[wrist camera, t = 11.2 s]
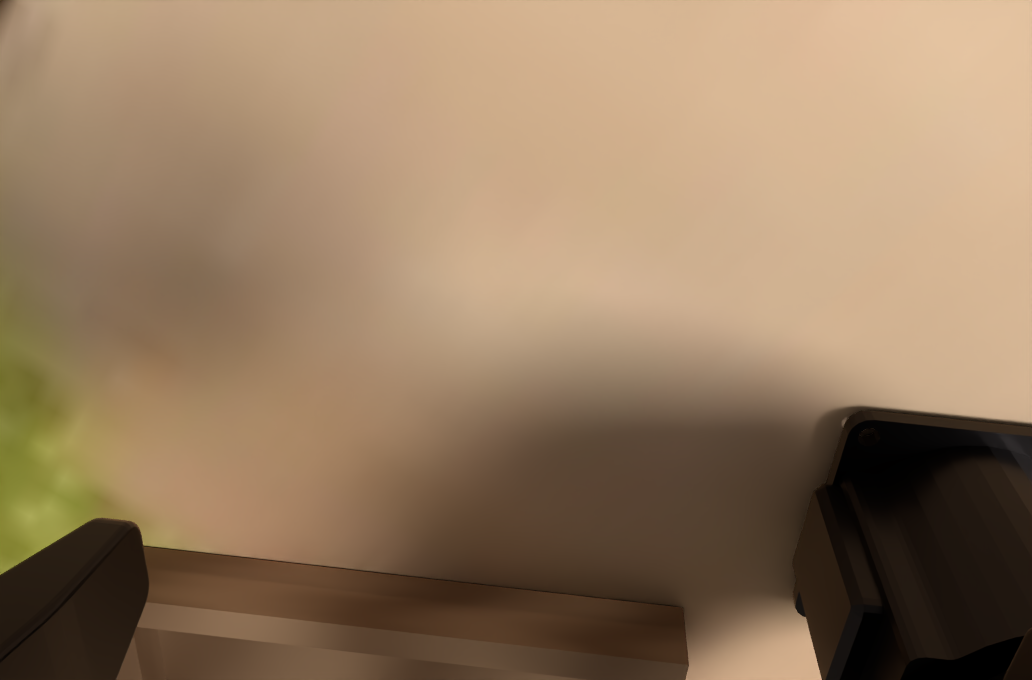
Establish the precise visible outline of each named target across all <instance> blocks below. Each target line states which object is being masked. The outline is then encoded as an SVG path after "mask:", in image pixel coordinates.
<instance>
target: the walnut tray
mask: <svg viewBox="0 0 1032 680" xmlns="http://www.w3.org/2000/svg"><path fill="white" fill-rule="evenodd" d="M143 547H144V546H143ZM144 553H145V559H146V564H147V570H148V576H149V592H148V597H147V601H146V604H145V607H144V609H143V612H142V615H141V617H140V620H139V622H138V625H137V627H136V630H135V633H134V635H133V638H132V640H131V643H130V646H129V648H128V651H127V653H126V656H125V658H124V661H123V664H122V666H121V669H120V671H119V674H118V676H117V679H116V680H685V679H686V675H687V670H688V666H689V662H688V652H687V642H686V633H685V623H684V613H683V608H681V607H672V606H663V605H655V604H646V603H637V602H628V601H619V600H611V599H602V598H593V597H584V596H575V595H567V594H558V593H549V592H540V591H531V590H523V589H514V588H505V587H496V586H487V585H479V584H470V583H461V582H452V581H443V580H435V579H426V578H417V577H408V576H399V575H391V574H382V573H373V572H364V571H355V570H347V569H338V568H329V567H320V566H311V565H303V564H294V563H285V562H276V561H267V560H259V559H250V558H241V557H232V556H223V555H215V554H206V553H197V552H188V551H179V550H171V549H162V548H153V547H144Z"/></svg>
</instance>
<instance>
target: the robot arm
mask: <svg viewBox="0 0 1032 680" xmlns="http://www.w3.org/2000/svg"><path fill="white" fill-rule="evenodd" d="M870 428H873V429H875V431H874V432H873V433H872V434H870V435H868V436H860V435H859V434H860V433H861V432H862V431H863V430H865V429H870ZM793 568H794V572H795V576H796V583H795V586H794V590H793V600H794V604H795V608H796V610H797V612H798V613H799V614H801V615H802V616H804V617H806V619H807V623H808V627H809V631H810V635H811V639H812V642H813V646H814V650H815V654H816V658H817V662H818V666H819V670H820V674H821V678H822V680H1032V427H1025V426H1015V425H1006V424H996V423H987V422H977V421H968V420H958V419H949V418H939V417H930V416H920V415H910V414H901V413H891V412H882V411H872V410H867V411H860V412H857V413H855V414H853V415H852V416H851V417H849V418H848V419H847V421H846V423H845V424H844V427H843V430H842V433H841V437H840V440H839V443H838V447H837V450H836V453H835V456H834V460H833V463H832V466H831V469H830V473H829V476H828V479H827V482H826V484H822V485H821V486H819V487H818V488H817V489H816V490H815V491H814V492H813V495H812V498H811V502H810V505H809V508H808V512H807V515H806V518H805V522H804V525H803V528H802V532H801V535H800V538H799V542H798V545H797V548H796V552H795V555H794V558H793ZM148 592H149V576H148V570H147V564H146V559H145V553H144V547H143V542H142V536H141V532H140V529H139V527H138V526H137V524H135V523H134V522H131V521H126V520H117V519H108V518H96V519H93V520H91V521H89V522H87V523H85V524H84V525H82V526H80V527H79V528H77V529H75V530H74V531H72V532H71V533H69V534H67V535H66V536H64V537H62V538H61V539H59V540H57V541H56V542H54V543H52V544H51V545H49V546H47V547H46V548H44V549H42V550H41V551H39V552H37V553H36V554H34V555H33V556H31V557H29V558H28V559H26V560H24V561H23V562H21V563H19V564H18V565H16V566H14V567H13V568H11V569H9V570H8V571H6V572H4V573H3V574H1V575H0V680H116V679H117V676H118V674H119V671H120V669H121V666H122V664H123V661H124V658H125V656H126V653H127V651H128V648H129V646H130V643H131V640H132V638H133V635H134V633H135V630H136V627H137V625H138V622H139V620H140V617H141V615H142V612H143V609H144V607H145V604H146V601H147V597H148Z"/></svg>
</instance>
